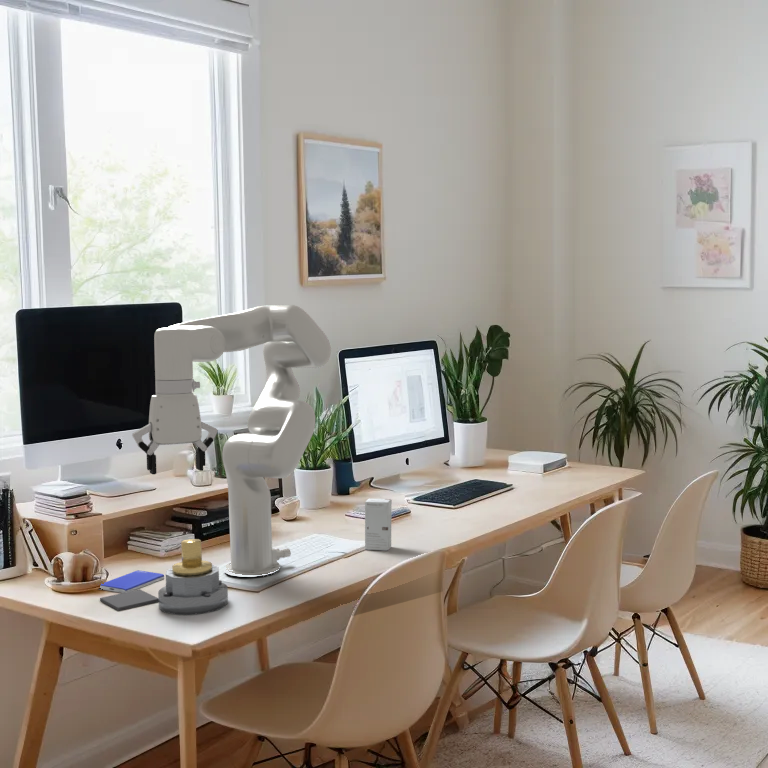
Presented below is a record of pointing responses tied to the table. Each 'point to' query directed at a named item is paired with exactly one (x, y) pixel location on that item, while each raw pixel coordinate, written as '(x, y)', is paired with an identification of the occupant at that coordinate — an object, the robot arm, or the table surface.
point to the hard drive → (131, 581)
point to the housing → (193, 593)
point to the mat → (129, 599)
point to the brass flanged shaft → (191, 559)
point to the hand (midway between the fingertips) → (176, 471)
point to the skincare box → (378, 524)
